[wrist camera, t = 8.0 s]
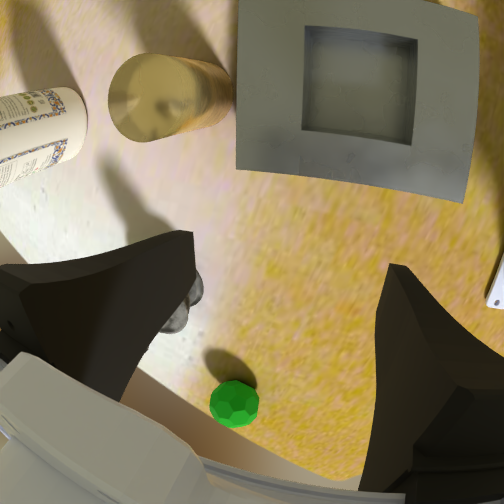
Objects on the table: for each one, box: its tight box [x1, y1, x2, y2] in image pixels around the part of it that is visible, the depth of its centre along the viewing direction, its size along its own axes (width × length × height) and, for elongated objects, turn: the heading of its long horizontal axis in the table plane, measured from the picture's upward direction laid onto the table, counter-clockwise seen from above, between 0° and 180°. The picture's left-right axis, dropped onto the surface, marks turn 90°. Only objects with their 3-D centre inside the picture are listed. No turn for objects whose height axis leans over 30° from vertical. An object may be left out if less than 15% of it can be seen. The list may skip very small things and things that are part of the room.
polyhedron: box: [210, 380, 259, 428], centre depth 29 cm, size 5×5×5 cm
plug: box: [108, 53, 234, 142], centre depth 16 cm, size 5×5×6 cm
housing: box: [236, 0, 479, 204], centre depth 14 cm, size 12×10×4 cm
